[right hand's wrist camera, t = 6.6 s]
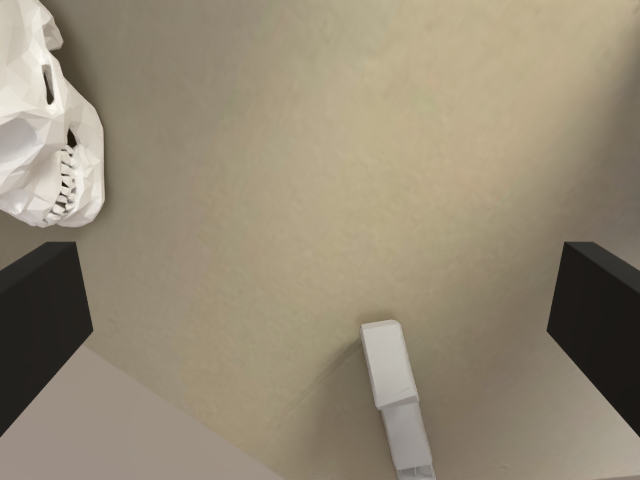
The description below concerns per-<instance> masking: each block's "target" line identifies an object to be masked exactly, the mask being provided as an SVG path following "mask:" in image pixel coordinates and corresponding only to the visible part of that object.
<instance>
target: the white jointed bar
mask: <svg viewBox="0 0 640 480" xmlns="http://www.w3.org/2000/svg"><path fill="white" fill-rule="evenodd" d="M359 334H360V337H361V341H362V345H363V349H364V353H365V358H366V363H367V367H368V372H369V377H370V382H371V387H372V391H373V396H374V401H375V406H376V407H377V410H381V414H382V418H383V422H384V426H385V430H386V434H387V438H388V442H389V447H390V451H391V456H392V460H393V465H394V466H395V468H396V477H397V480H437V479H436V477H435V473H434V469H433V465H432V454H431V450H430V446H429V442H428V438H427V434H426V430H425V426H424V423H423V419H422V415H421V410H420V406H419V401H420V400H419V396H418V392H417V388H416V384H415V381H414V377H413V373H412V369H411V365H410V361H409V357H408V353H407V348H406V344H405V340H404V336H403V332H402V328H401V324H400V323H398V322H397V321H395V320H393V319H391V320H385V321H379V322H373V323H367V324H361V327H360V333H359Z"/></svg>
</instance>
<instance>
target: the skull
mask: <svg viewBox="0 0 640 480" xmlns="http://www.w3.org/2000/svg"><path fill="white" fill-rule="evenodd" d="M62 44H63V39H62V37H61V34H60V32H59V29H58V28H57V26H56V25H55V22H54V18H53V16H52V15H51V13H50V12H49V11H48V10H47V9H46V8H45V7H44V6H43V5H42V4H41V3H40V2H39V1H38V0H0V210H2V211H4V212H7V213H9V214H10V215H12V216H14V217H15V218H17V219H19V220H21V221H24V222H26V223H27V224H29V225H30V226H36V225H37V226H39V227H41V228H44V227H47V226H50V225H54V224H55V223H56V224H58V225H60V226H66V227H81V226H83V225H86V224H88V223H90V222H92V221H93V220H94V219H95V217H96V216H97V214H98V213H99V211H100V210H101V208H102V206H103V203H104V201H105V191H104V141H103V127H102V125H101V122H100V119H99V116H98V114H97V112H96V110H95V108H94V107H93V106H92V105H91V104H90V103H89V102H88V101H87V100H86V99H84V98H83V97H82V96H81V95H80V94H79V93H78V92H77V91H76V90H75V89H74V87H73V86H72V85H71V84H70V83H69V82H68V81H67V80H66V79H65V78H64V77H63V74H62V71H61V67H60V64H59V61H58V60H57V59H56V58H55V57H54V56H53V55H52V54H51V53H50V52H49V51H51V50H56V49H61V46H62ZM44 72H45V75H46V78H47V82H48V85H49V89H50V92H51V94H52V96H53V98H54V100H53V101H52V103H51V104H50V105H48V103H47V89H46V85H45V81H44V78H43V76H44ZM69 129H70V130H71V132H72V133H73V134H74V136H75V139H76V143H77V145H76V146H74V147H73V148H71V147H70V146H68V145H67V143H68V142H67V133H68V130H69ZM62 149H63V151H61V150H62ZM69 154H71V157H70V156H69ZM62 162H63V163H64V164H61V163H62ZM69 166H71V168H70V167H69ZM61 174H64V176H62V175H61ZM62 181H63V182H64V183H65V184H66V185H67V186H68V188H67V187H63V186H62ZM71 190H72V192H71ZM60 192H61V193H62V194H64V195H65V196H61V195H59V194H60ZM67 200H69V202H67ZM57 201H59V202H63V203H66V205H65V206H64V205H62V204H60V203H59V202H57Z"/></svg>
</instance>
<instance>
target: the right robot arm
mask: <svg viewBox="0 0 640 480" xmlns="http://www.w3.org/2000/svg"><path fill="white" fill-rule="evenodd" d="M92 332H93V326H92V321H91V316H90V311H89V306H88V301H87V296H86V291H85V286H84V281H83V277H82V272H81V267H80V262H79V257H78V252H77V247H76V242H46V243H44V244H43V245H41V246H39V247H38V248H36V249H35V250H33V251H31V252H30V253H28V254H27V255H25V256H23V257H22V258H20V259H19V260H17V261H15V262H14V263H12V264H11V265H9V266H7V267H6V268H4V269H2V270H1V271H0V437H1V436H2V435H3V434H4V432H5V431H6V430H7V429H8V428H9V427H10V426H11V425H12V423H13V422H14V421H15V420H16V419H17V418H18V417H19V415H20V414H21V413H22V412H23V411H24V410H25V409H26V407H27V406H28V405H29V404H30V403H31V402H32V401H33V399H34V398H35V397H36V396H37V395H38V394H39V393H40V391H41V390H42V389H43V388H44V387H45V386H46V385H47V383H48V382H49V381H50V380H51V379H52V378H53V377H54V375H55V374H56V373H57V372H58V371H59V370H60V369H61V367H62V366H63V365H64V364H65V363H66V362H67V360H68V359H69V358H70V357H71V356H72V355H73V354H74V353H75V351H76V350H77V349H78V348H79V347H80V346H81V345H82V343H83V342H84V341H85V340H86V339H87V338H88V337H89V335H90V334H91V333H92ZM547 332H548V333H549V334H550V335H551V337H552V338H553V339H554V340H555V341H556V342H557V343H558V345H559V346H560V347H561V348H562V349H563V350H564V351H565V353H566V354H567V355H568V356H569V357H570V358H571V359H572V361H573V362H574V363H575V364H576V365H577V366H578V367H579V369H580V370H581V371H582V372H583V373H584V374H585V375H586V377H587V378H588V379H589V380H590V381H591V382H592V383H593V385H594V386H595V387H596V388H597V389H598V390H599V391H600V393H601V394H602V395H603V396H604V397H605V398H606V399H607V401H608V402H609V403H610V404H611V405H612V406H613V407H614V409H615V410H616V411H617V412H618V413H619V414H620V415H621V417H622V418H623V419H624V420H625V421H626V422H627V423H628V425H629V426H630V427H631V428H632V429H633V430H634V431H635V433H636V434H637V435H638V436H639V437H640V271H639V270H638V269H636V268H634V267H633V266H631V265H629V264H628V263H626V262H625V261H623V260H621V259H620V258H618V257H617V256H615V255H613V254H612V253H610V252H609V251H607V250H605V249H604V248H602V247H601V246H599V245H597V244H596V243H594V242H564V247H563V252H562V257H561V262H560V267H559V272H558V277H557V281H556V286H555V291H554V296H553V301H552V306H551V311H550V316H549V321H548V326H547Z"/></svg>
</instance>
